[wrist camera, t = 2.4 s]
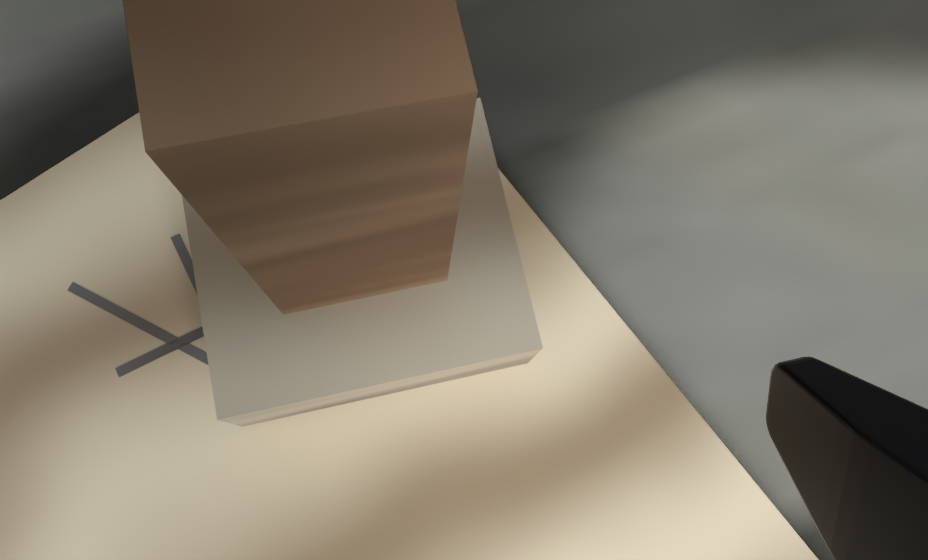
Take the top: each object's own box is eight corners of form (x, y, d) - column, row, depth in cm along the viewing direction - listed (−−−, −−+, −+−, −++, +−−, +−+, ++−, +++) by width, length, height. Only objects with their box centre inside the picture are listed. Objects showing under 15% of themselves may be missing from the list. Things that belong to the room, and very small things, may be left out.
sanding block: (527, 363, 20) (672, 223, 9) (242, 426, 19) (-6, 361, 8) (472, 140, 21) (537, -233, 10) (204, 191, 20) (-56, -152, 9)
